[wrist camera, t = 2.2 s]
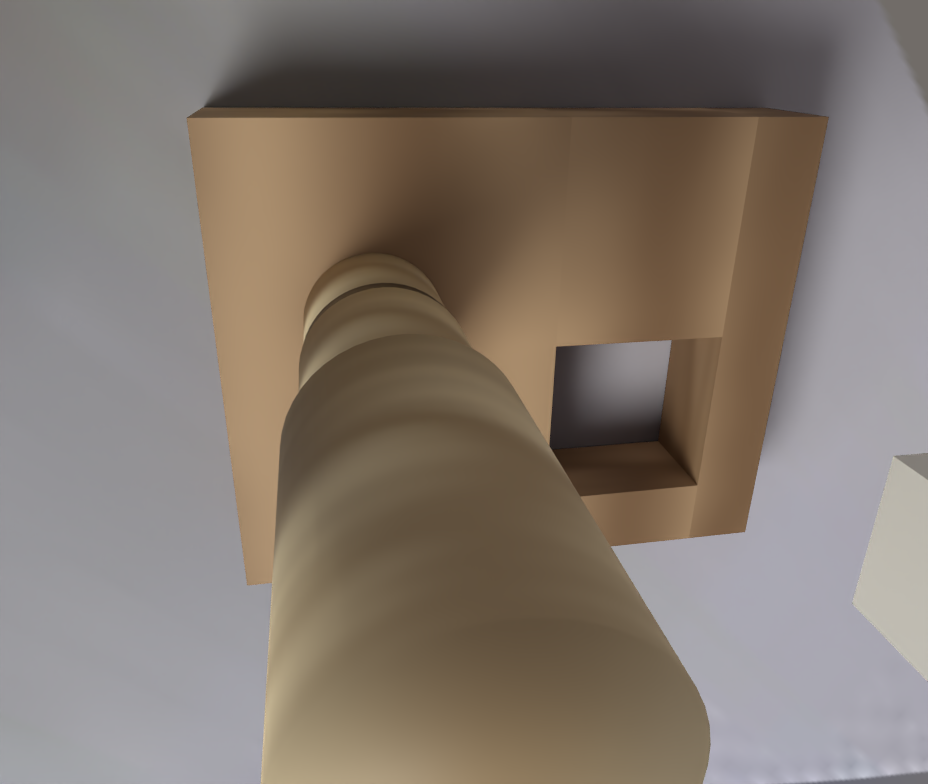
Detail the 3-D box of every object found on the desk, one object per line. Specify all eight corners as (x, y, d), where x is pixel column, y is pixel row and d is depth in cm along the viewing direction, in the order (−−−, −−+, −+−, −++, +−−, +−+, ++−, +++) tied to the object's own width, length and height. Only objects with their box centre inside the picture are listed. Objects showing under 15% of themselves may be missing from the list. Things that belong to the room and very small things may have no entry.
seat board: (253, 527, 25) (246, 585, 22) (202, 107, 20) (186, 117, 17) (702, 484, 28) (744, 532, 25) (766, 107, 23) (828, 117, 20)
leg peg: (294, 403, 20) (280, 981, 8) (280, 239, 18) (232, 653, 6) (456, 392, 21) (678, 901, 9) (458, 234, 19) (744, 590, 7)
